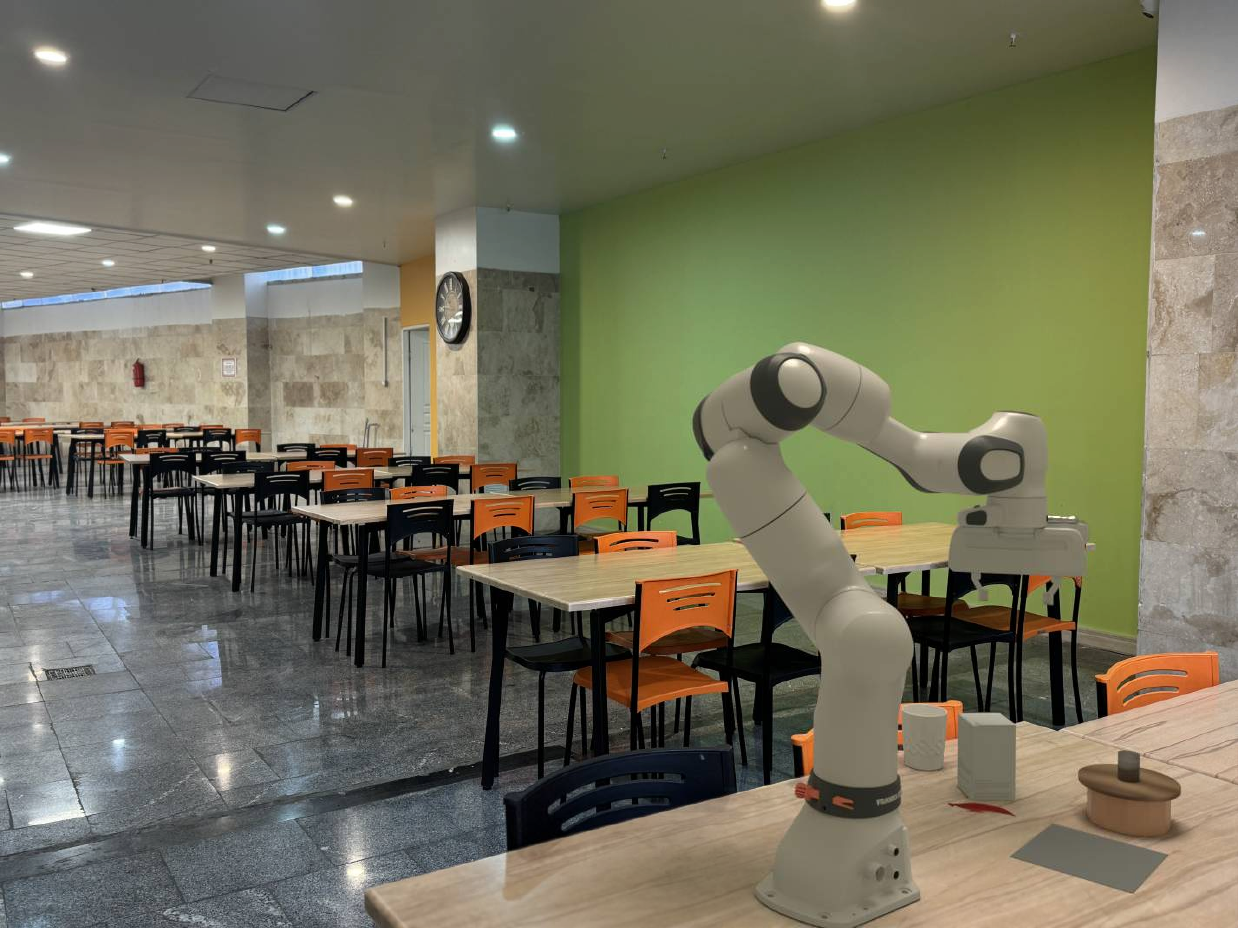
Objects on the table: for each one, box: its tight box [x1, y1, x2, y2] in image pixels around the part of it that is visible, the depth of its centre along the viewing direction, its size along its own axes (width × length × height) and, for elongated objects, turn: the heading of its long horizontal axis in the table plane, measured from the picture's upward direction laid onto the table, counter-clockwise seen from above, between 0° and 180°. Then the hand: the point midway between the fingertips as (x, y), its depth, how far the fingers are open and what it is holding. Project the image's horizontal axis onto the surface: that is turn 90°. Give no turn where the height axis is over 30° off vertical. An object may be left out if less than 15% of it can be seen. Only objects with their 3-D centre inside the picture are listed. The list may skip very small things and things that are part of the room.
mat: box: [1009, 823, 1169, 894], centre depth 140 cm, size 16×16×1 cm
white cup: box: [900, 703, 948, 772], centre depth 178 cm, size 8×8×10 cm
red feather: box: [947, 802, 1017, 818], centre depth 156 cm, size 12×5×2 cm, turn 43°
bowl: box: [1086, 787, 1172, 837], centre depth 152 cm, size 11×11×6 cm
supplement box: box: [956, 712, 1017, 801], centre depth 164 cm, size 7×7×13 cm
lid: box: [1077, 749, 1182, 802], centre depth 152 cm, size 14×14×5 cm
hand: (1015, 602), depth 156 cm, fingers open, 8 cm apart
